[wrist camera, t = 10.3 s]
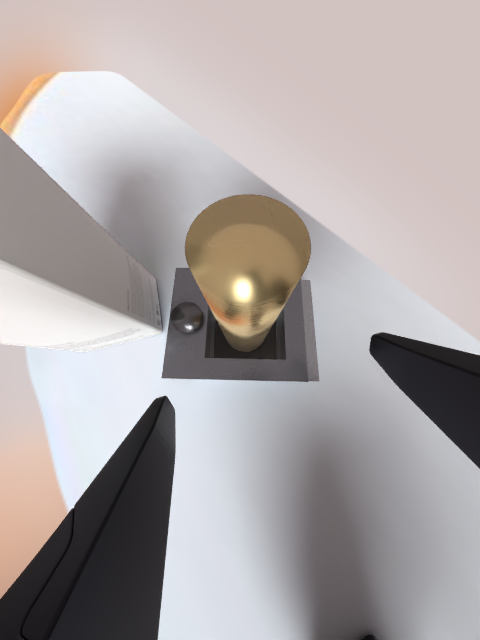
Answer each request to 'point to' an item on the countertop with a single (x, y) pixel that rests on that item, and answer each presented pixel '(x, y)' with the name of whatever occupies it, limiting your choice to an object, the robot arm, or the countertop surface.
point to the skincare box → (64, 268)
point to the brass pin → (247, 263)
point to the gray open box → (198, 363)
